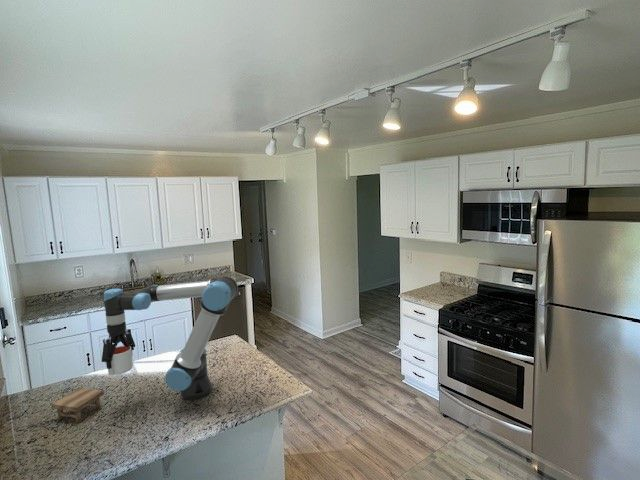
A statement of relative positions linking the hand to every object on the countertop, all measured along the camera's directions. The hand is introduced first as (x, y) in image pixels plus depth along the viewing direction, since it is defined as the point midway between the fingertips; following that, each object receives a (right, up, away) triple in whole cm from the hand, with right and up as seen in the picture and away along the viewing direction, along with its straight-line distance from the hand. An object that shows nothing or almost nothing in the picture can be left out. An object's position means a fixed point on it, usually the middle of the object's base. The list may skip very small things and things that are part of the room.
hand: (121, 368), depth 163 cm
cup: (0, -1, 0) cm, 1 cm away
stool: (-18, -20, -2) cm, 27 cm away
